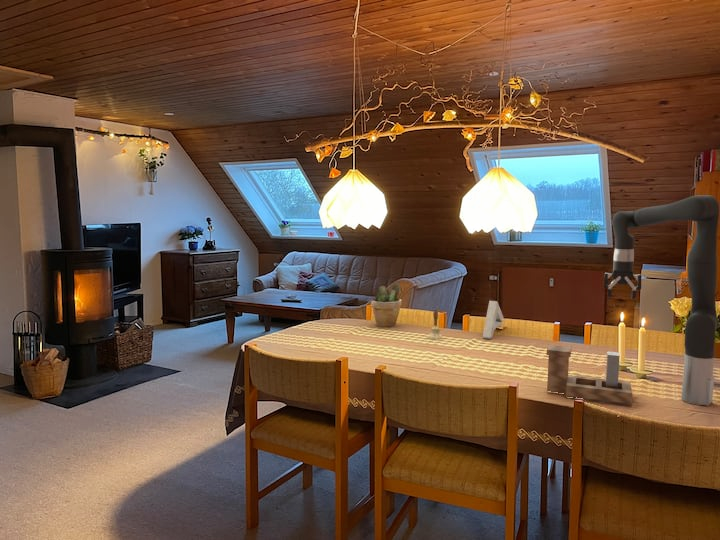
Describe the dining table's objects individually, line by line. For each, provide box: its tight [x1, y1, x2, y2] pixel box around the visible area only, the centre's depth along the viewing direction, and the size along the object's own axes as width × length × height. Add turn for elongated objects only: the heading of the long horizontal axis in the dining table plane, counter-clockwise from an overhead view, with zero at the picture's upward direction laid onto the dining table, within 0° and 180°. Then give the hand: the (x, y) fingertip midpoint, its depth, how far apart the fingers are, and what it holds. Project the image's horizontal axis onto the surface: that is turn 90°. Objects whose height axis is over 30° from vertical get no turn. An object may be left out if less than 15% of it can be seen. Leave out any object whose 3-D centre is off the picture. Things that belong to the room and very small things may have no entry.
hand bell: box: [427, 308, 444, 340], centre depth 302 cm, size 8×8×16 cm
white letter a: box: [482, 300, 505, 340], centre depth 315 cm, size 22×4×30 cm
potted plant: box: [370, 283, 403, 328], centre depth 332 cm, size 18×19×25 cm
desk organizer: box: [546, 344, 633, 408], centre depth 210 cm, size 30×14×17 cm, turn 67°
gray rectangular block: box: [605, 351, 620, 389], centre depth 206 cm, size 4×5×16 cm
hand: (621, 298), depth 231 cm, fingers open, 8 cm apart
